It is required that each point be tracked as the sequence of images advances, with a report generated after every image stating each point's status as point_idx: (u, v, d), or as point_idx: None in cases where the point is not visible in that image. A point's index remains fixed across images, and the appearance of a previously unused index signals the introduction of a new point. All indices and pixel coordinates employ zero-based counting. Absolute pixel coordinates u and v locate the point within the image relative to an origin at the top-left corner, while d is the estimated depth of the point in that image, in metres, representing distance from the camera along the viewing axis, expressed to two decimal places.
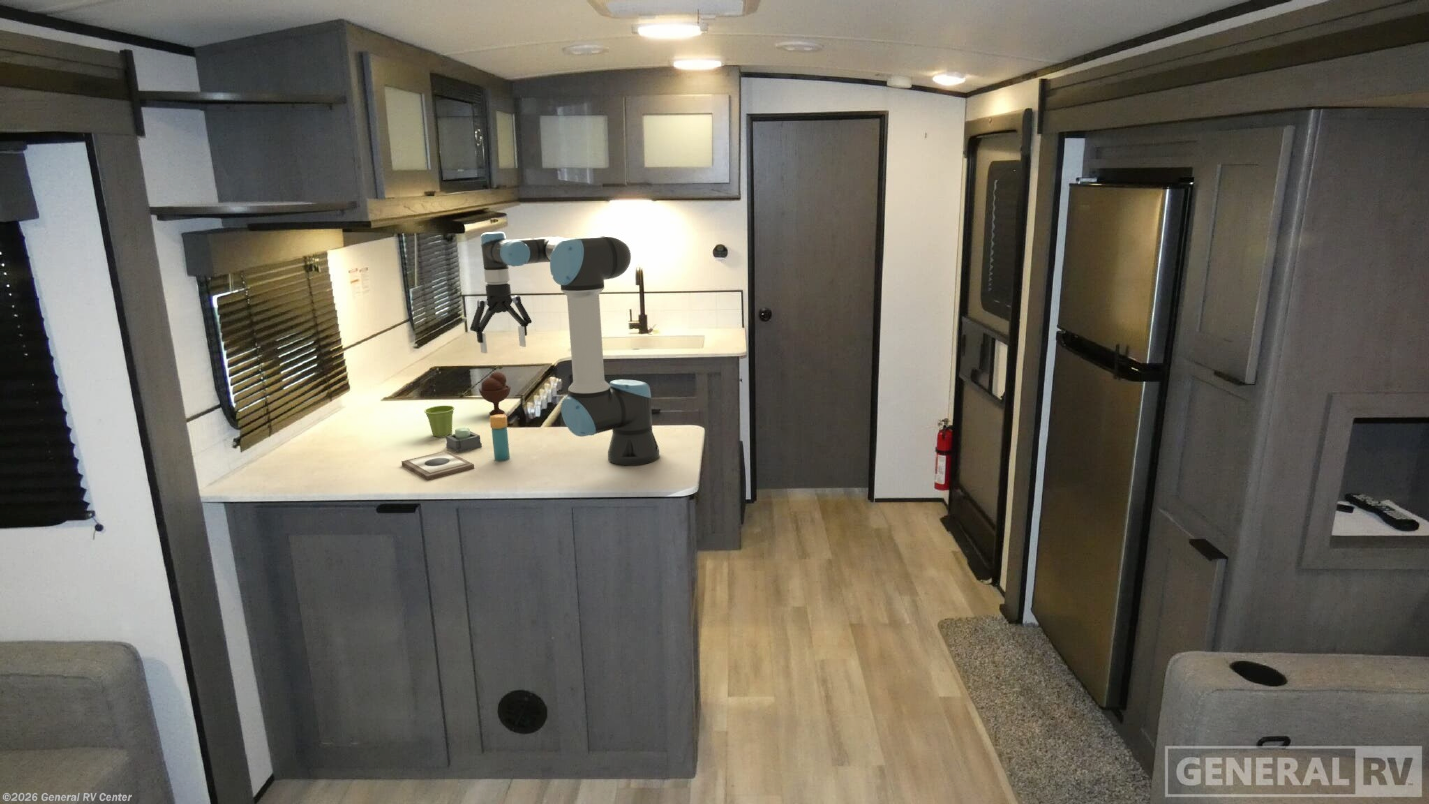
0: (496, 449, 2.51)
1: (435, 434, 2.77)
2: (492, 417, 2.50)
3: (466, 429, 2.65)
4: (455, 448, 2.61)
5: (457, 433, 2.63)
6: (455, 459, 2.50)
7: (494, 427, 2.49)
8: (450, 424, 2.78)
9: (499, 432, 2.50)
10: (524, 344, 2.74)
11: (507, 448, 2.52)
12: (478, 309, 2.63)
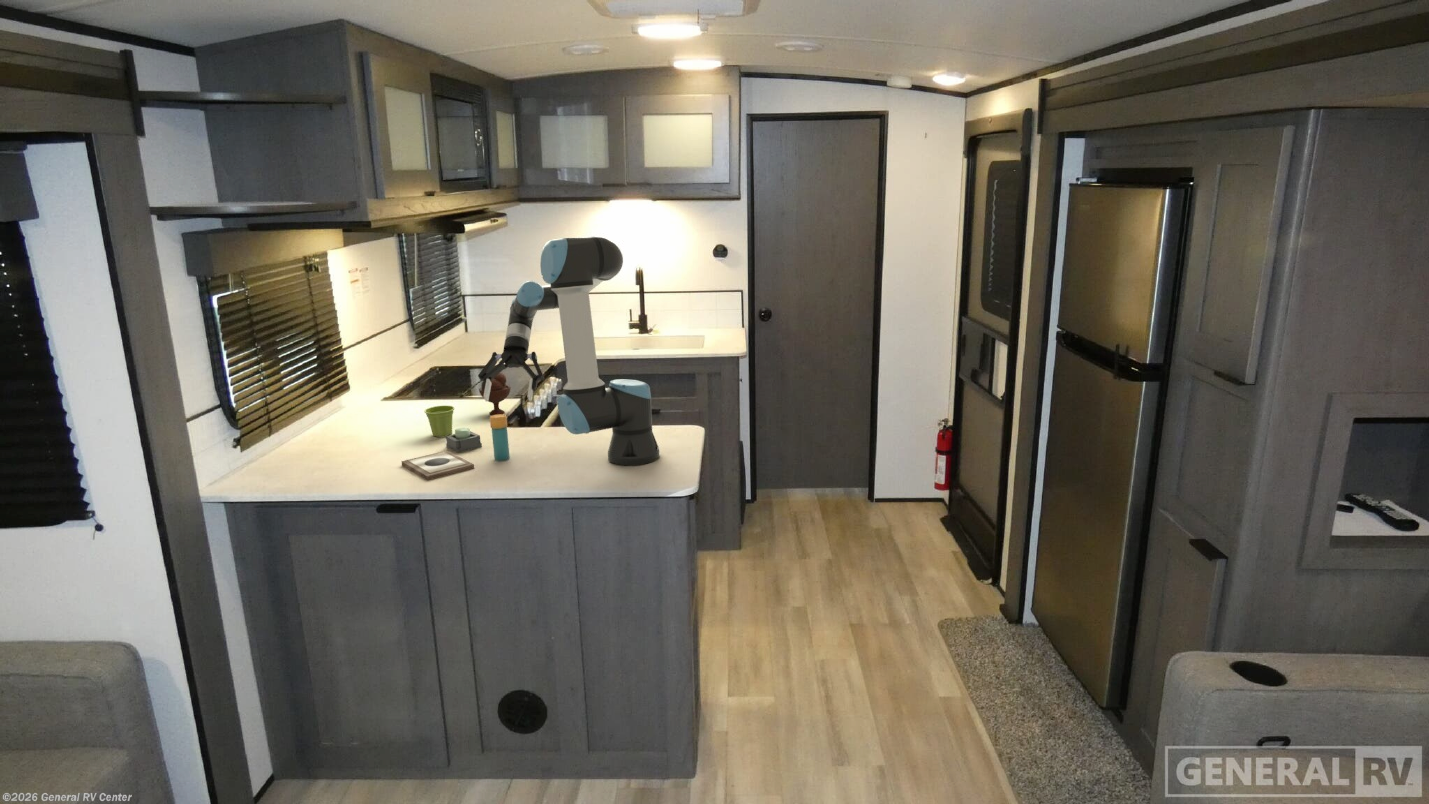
0: (496, 449, 2.51)
1: (435, 434, 2.77)
2: (492, 417, 2.50)
3: (466, 429, 2.65)
4: (455, 448, 2.61)
5: (457, 433, 2.63)
6: (455, 459, 2.50)
7: (494, 427, 2.49)
8: (450, 424, 2.78)
9: (499, 432, 2.50)
10: (528, 394, 2.59)
11: (507, 448, 2.52)
12: None
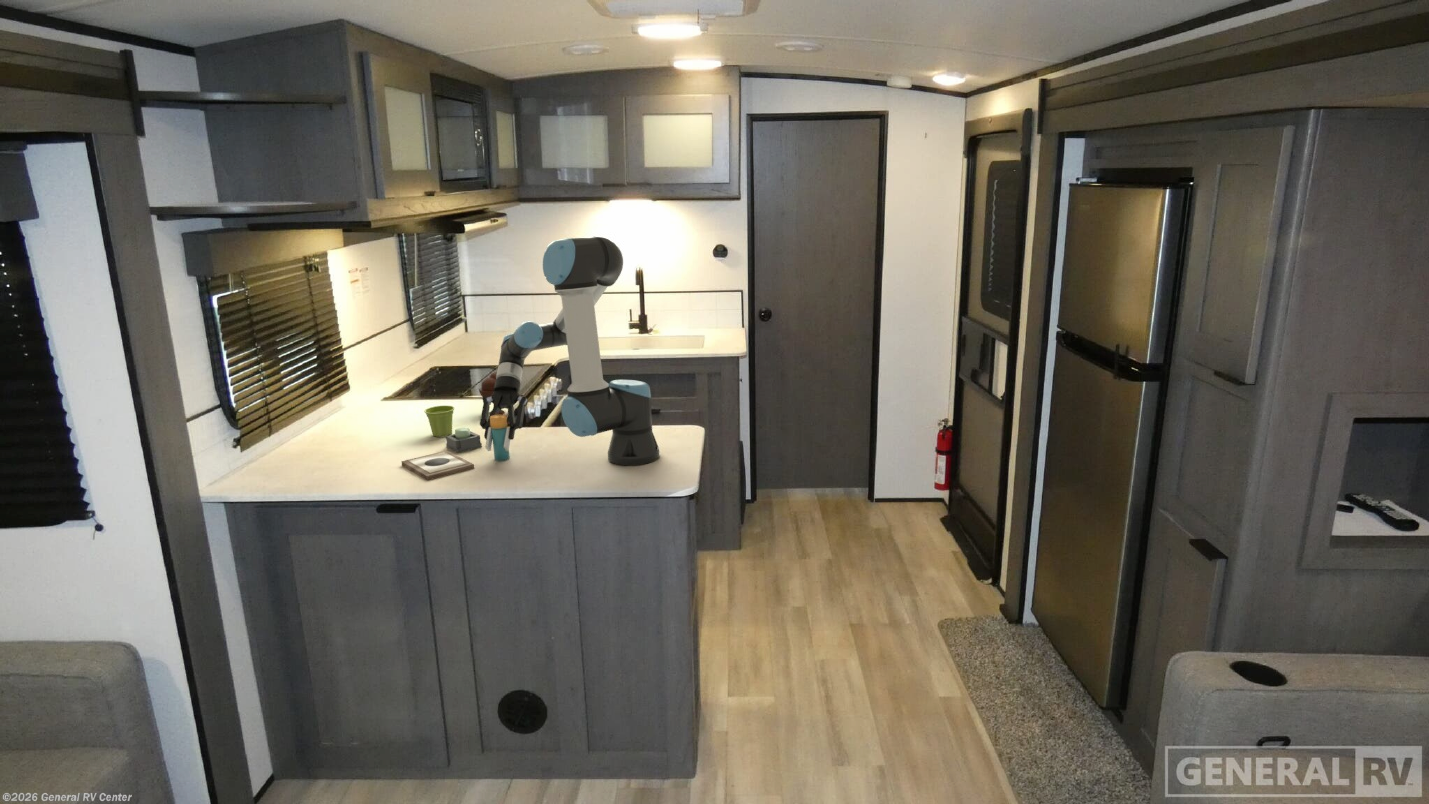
0: (496, 449, 2.51)
1: (435, 434, 2.77)
2: (492, 417, 2.50)
3: (466, 429, 2.65)
4: (455, 448, 2.61)
5: (457, 433, 2.63)
6: (455, 459, 2.50)
7: (494, 427, 2.49)
8: (450, 424, 2.78)
9: (499, 432, 2.50)
10: (505, 444, 2.48)
11: None
12: None
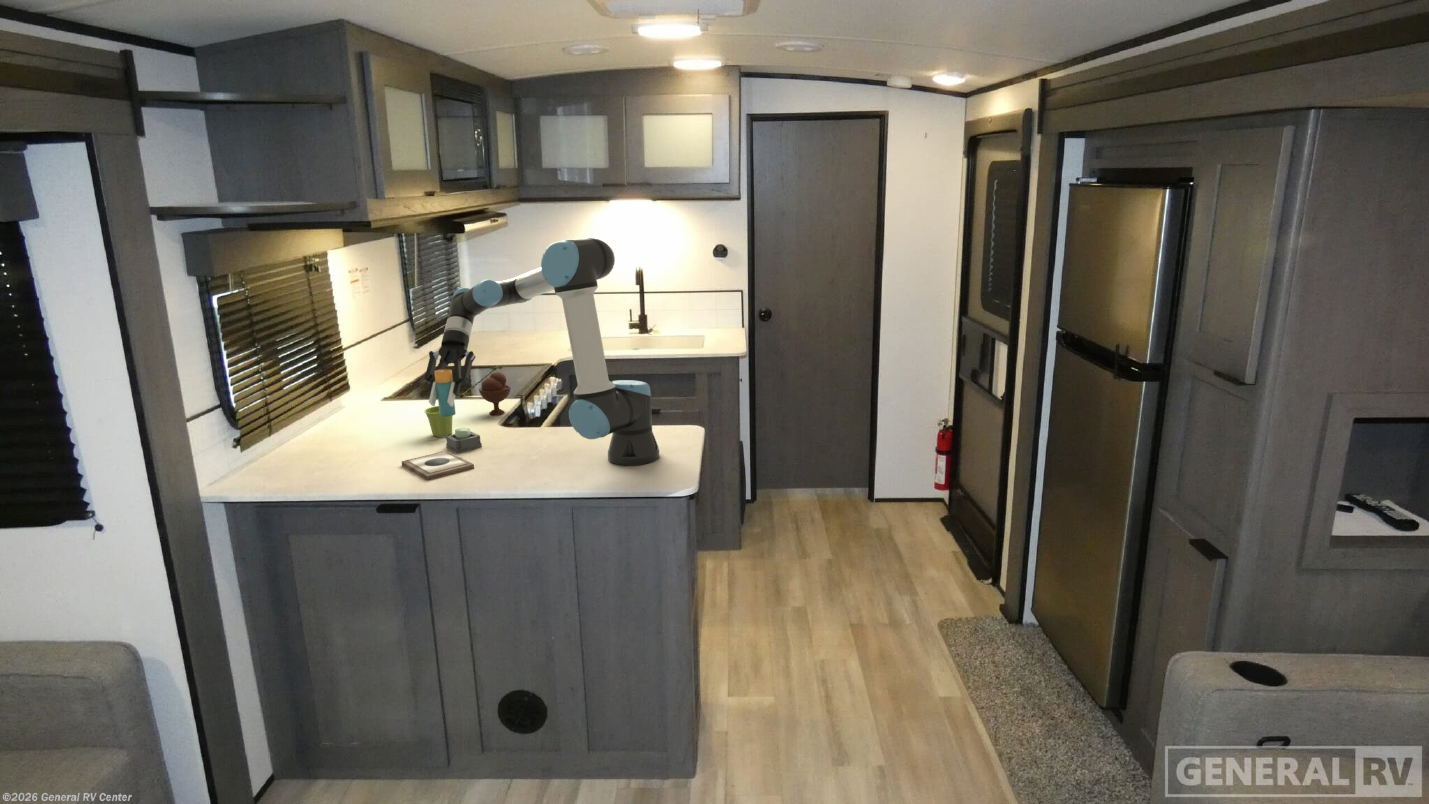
0: (441, 405, 2.45)
1: (435, 434, 2.77)
2: (437, 371, 2.43)
3: (466, 429, 2.65)
4: (455, 448, 2.61)
5: (457, 433, 2.63)
6: (455, 459, 2.50)
7: (438, 381, 2.42)
8: (450, 424, 2.78)
9: (443, 387, 2.43)
10: (448, 399, 2.42)
11: None
12: None
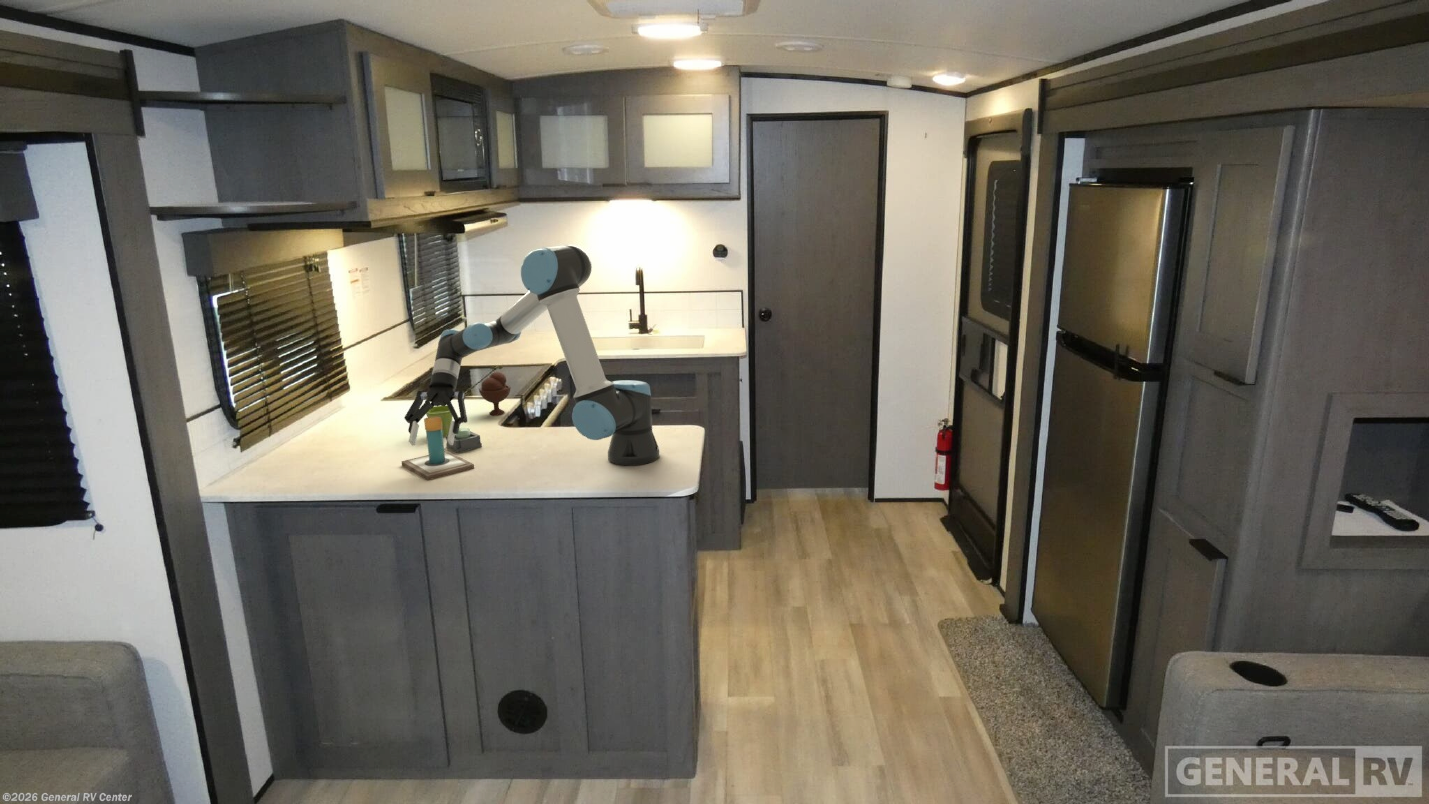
0: (430, 452, 2.45)
1: None
2: (426, 419, 2.44)
3: (466, 429, 2.65)
4: (455, 448, 2.61)
5: None
6: (455, 459, 2.50)
7: (428, 429, 2.43)
8: (450, 424, 2.78)
9: (433, 435, 2.43)
10: (448, 438, 2.42)
11: (442, 451, 2.46)
12: None
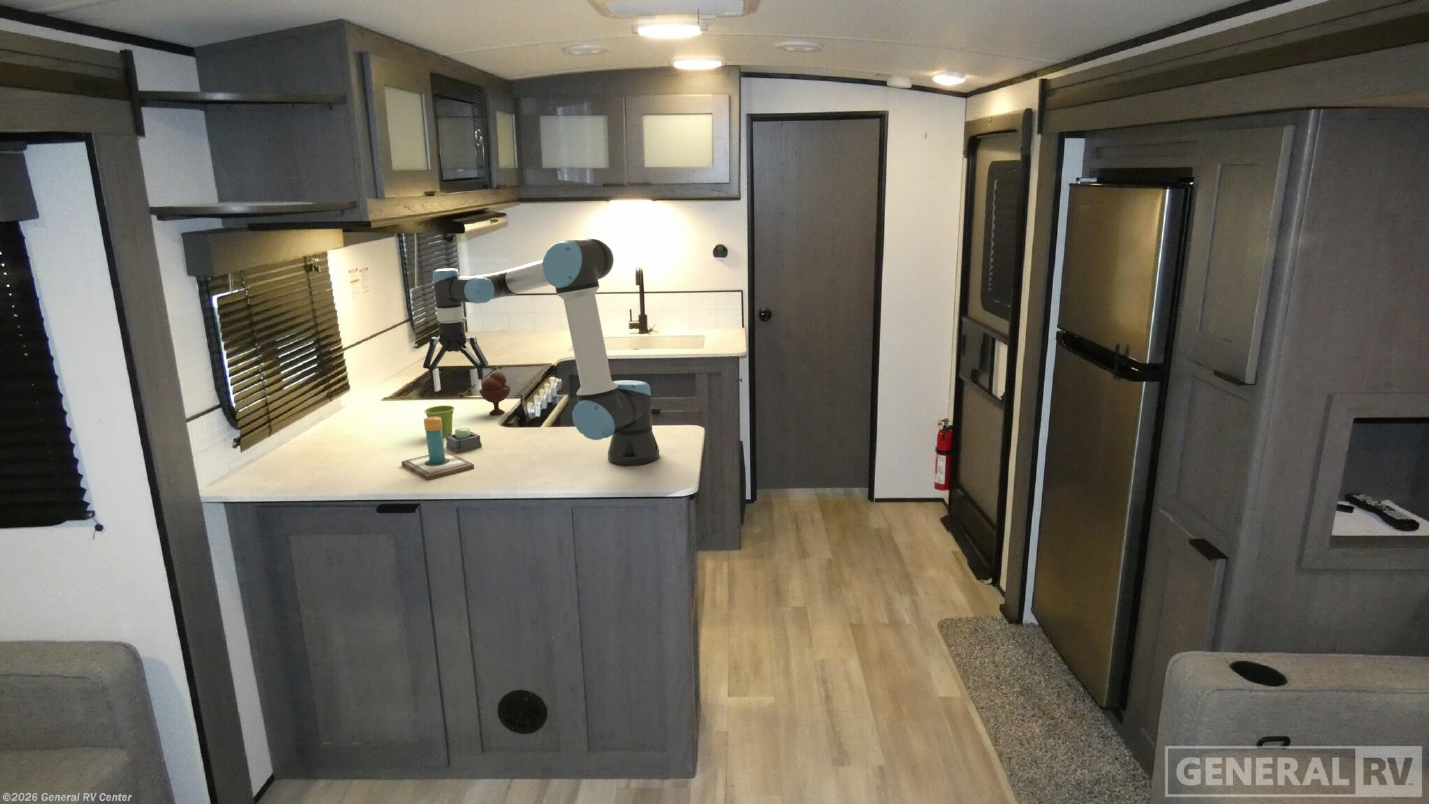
0: (430, 453, 2.45)
1: None
2: (426, 419, 2.44)
3: (466, 429, 2.65)
4: (455, 448, 2.61)
5: (457, 433, 2.63)
6: (455, 459, 2.50)
7: (428, 430, 2.43)
8: (450, 424, 2.78)
9: (433, 435, 2.43)
10: (477, 388, 2.60)
11: (442, 451, 2.46)
12: None
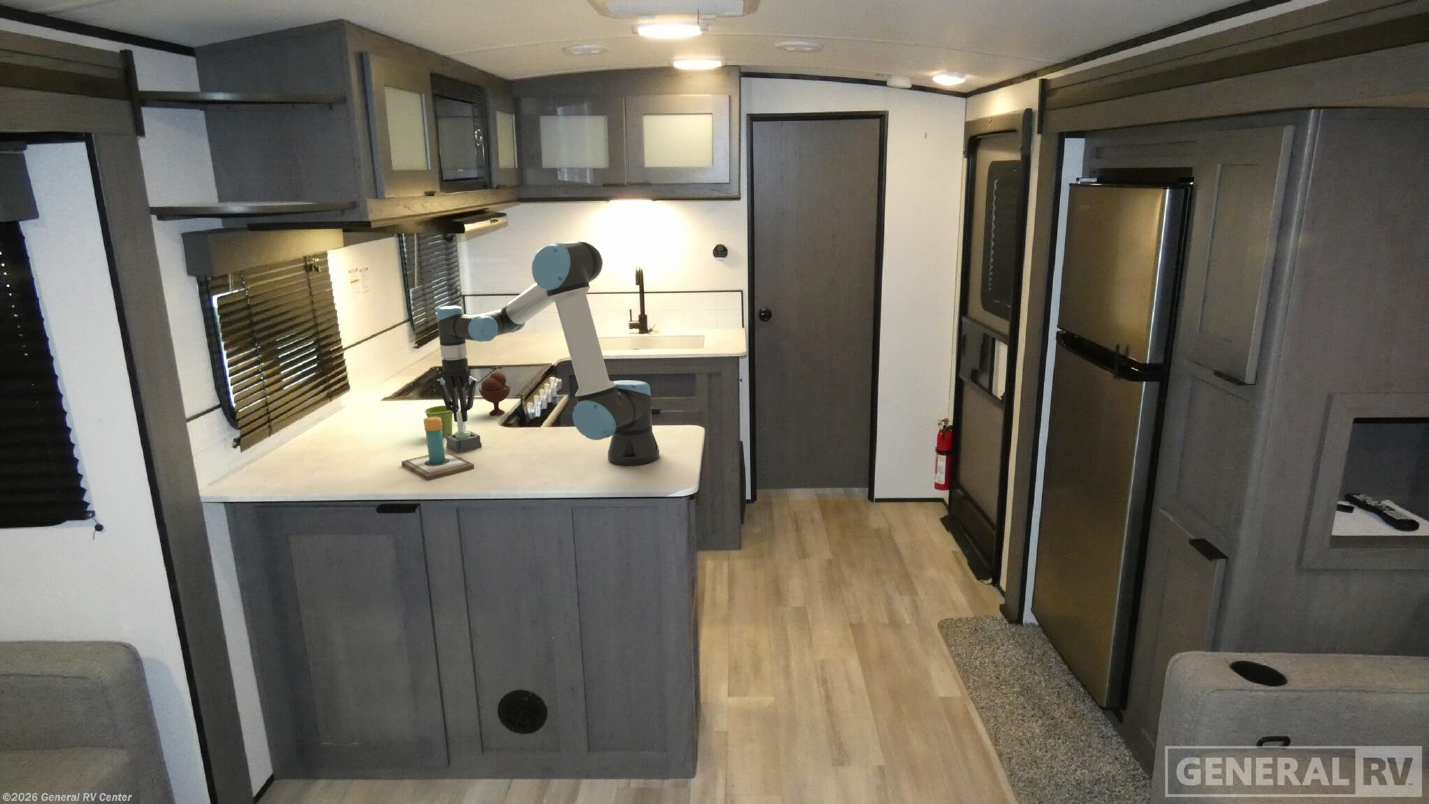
0: (430, 453, 2.45)
1: None
2: (426, 419, 2.44)
3: (466, 432, 2.65)
4: (455, 448, 2.61)
5: (457, 436, 2.63)
6: (455, 459, 2.50)
7: (428, 430, 2.43)
8: (450, 424, 2.78)
9: (433, 435, 2.43)
10: (461, 430, 2.63)
11: (442, 451, 2.46)
12: None
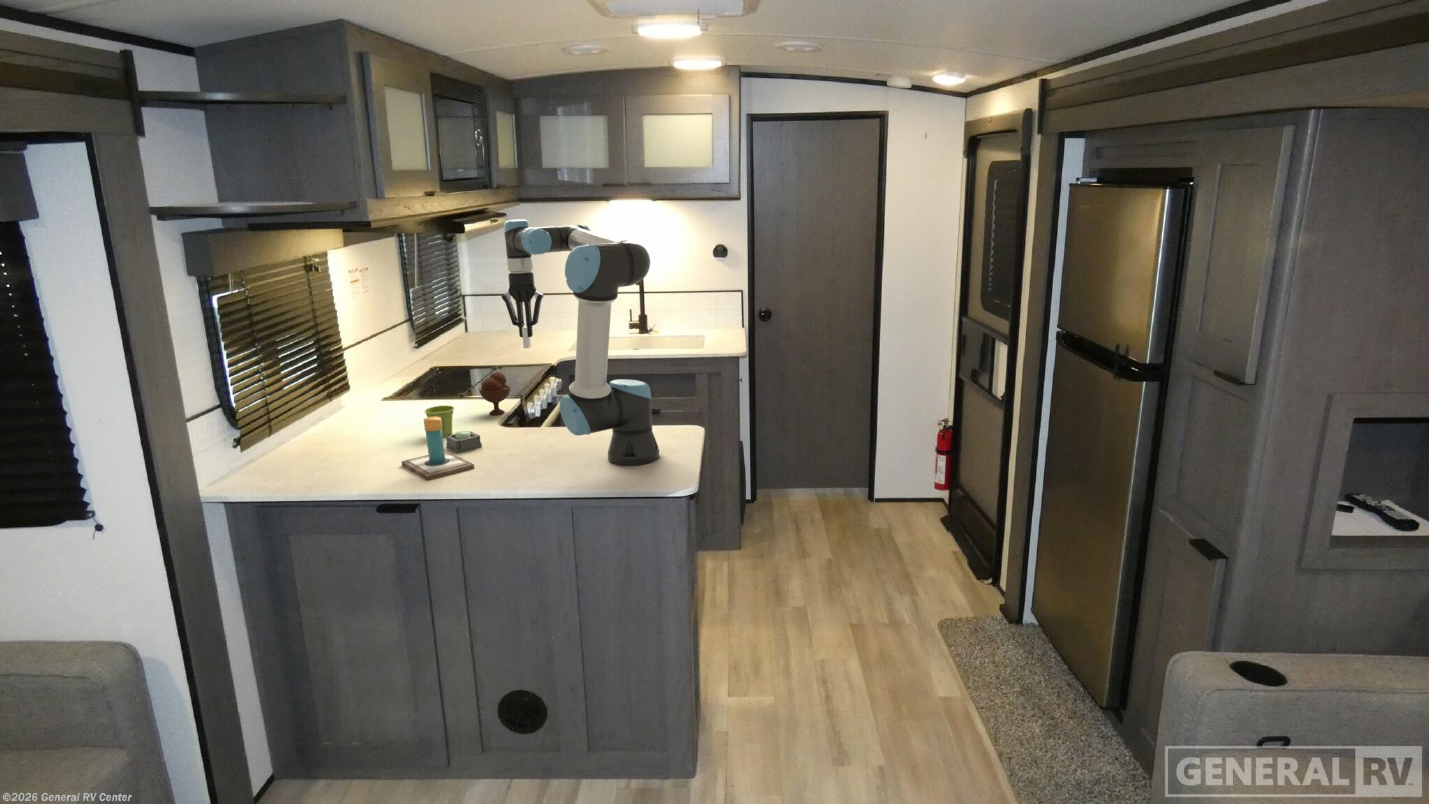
0: (430, 453, 2.45)
1: None
2: (426, 419, 2.44)
3: (466, 432, 2.65)
4: (455, 448, 2.61)
5: (457, 436, 2.63)
6: (455, 459, 2.50)
7: (428, 430, 2.43)
8: (450, 424, 2.78)
9: (433, 435, 2.43)
10: (526, 345, 2.65)
11: (442, 451, 2.46)
12: None
